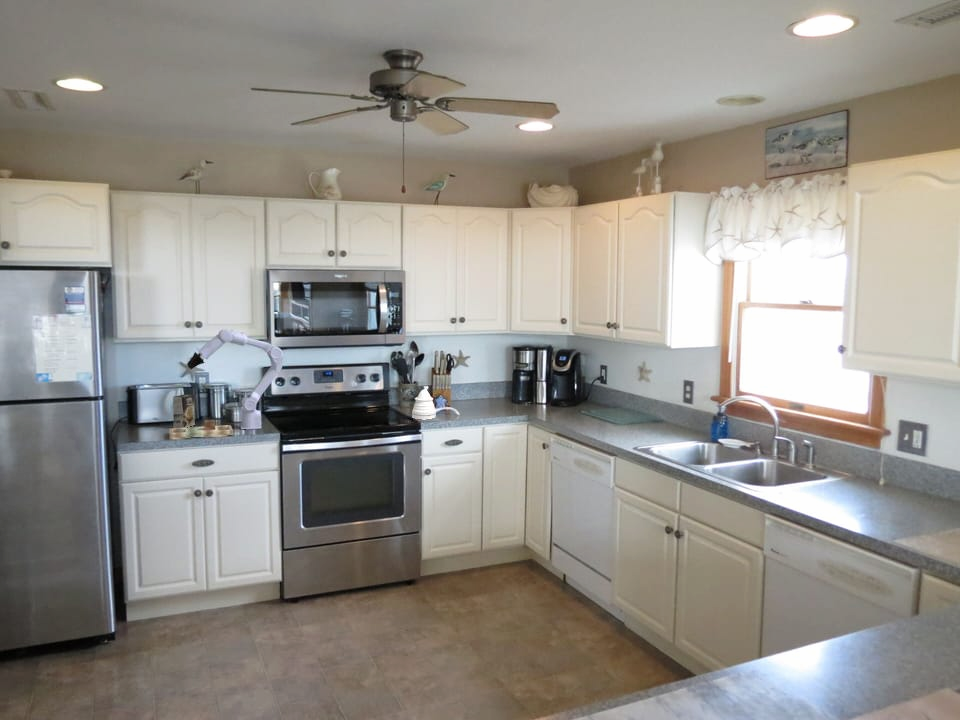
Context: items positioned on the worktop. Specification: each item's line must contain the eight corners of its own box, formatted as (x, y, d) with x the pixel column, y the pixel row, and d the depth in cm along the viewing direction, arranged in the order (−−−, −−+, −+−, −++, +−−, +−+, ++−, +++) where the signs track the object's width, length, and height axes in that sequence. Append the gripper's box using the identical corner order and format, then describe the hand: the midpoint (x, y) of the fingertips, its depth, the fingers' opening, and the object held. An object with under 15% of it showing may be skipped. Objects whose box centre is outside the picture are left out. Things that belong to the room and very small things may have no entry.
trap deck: (230, 430, 366) (230, 425, 365) (233, 435, 353) (233, 430, 353) (169, 433, 355) (169, 428, 354) (169, 439, 342) (169, 434, 342)
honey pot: (419, 416, 411) (419, 384, 409) (439, 418, 405) (440, 386, 403) (407, 420, 399) (408, 387, 397) (428, 422, 394) (428, 389, 392)
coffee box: (184, 429, 365) (184, 397, 363) (173, 428, 366) (172, 396, 365) (195, 425, 374) (194, 394, 372) (184, 425, 375) (183, 393, 373)
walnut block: (214, 427, 358) (214, 419, 358) (215, 429, 354) (215, 421, 353) (204, 428, 356) (204, 420, 356) (205, 430, 352) (205, 422, 352)
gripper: (203, 340, 365) (182, 358, 362) (205, 343, 351) (183, 362, 348) (214, 350, 367) (192, 369, 364) (216, 354, 354) (194, 373, 351)
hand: (188, 366), depth 356 cm, fingers open, 7 cm apart
